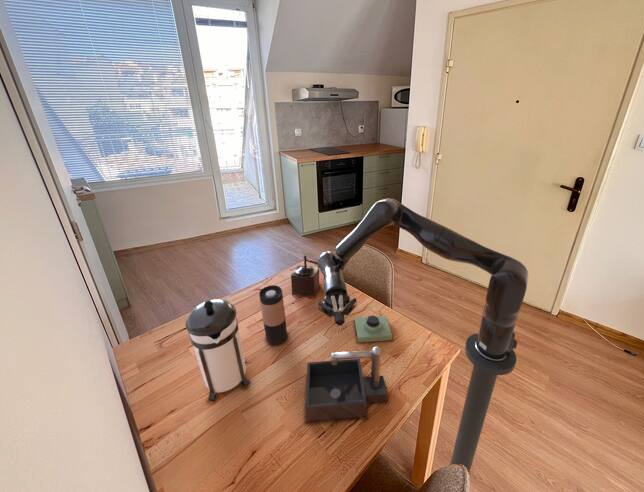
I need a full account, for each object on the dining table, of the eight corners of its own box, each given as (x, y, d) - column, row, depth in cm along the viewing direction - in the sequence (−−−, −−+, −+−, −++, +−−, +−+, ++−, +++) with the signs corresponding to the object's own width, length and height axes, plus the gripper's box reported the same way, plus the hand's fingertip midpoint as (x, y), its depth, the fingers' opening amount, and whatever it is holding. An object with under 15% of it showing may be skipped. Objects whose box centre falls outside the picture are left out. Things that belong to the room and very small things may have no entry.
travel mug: (264, 332, 108) (257, 288, 100) (285, 327, 110) (280, 283, 102) (267, 348, 101) (260, 301, 93) (289, 341, 104) (284, 296, 95)
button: (377, 318, 108) (377, 315, 108) (379, 326, 105) (379, 323, 104) (366, 319, 108) (366, 315, 107) (368, 327, 105) (368, 323, 104)
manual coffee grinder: (290, 296, 125) (288, 257, 120) (298, 283, 135) (296, 247, 130) (326, 298, 123) (325, 259, 118) (331, 285, 133) (330, 249, 128)
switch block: (385, 320, 113) (386, 311, 111) (391, 340, 104) (392, 331, 102) (355, 322, 112) (355, 313, 110) (358, 342, 103) (358, 333, 101)
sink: (380, 370, 92) (380, 356, 90) (389, 415, 80) (391, 400, 77) (308, 376, 91) (307, 362, 88) (306, 422, 78) (305, 407, 76)
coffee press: (263, 364, 95) (250, 288, 83) (230, 410, 81) (209, 327, 69) (220, 350, 101) (202, 277, 88) (182, 390, 87) (155, 311, 75)
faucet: (378, 380, 86) (380, 344, 80) (380, 388, 83) (382, 351, 78) (331, 383, 85) (330, 347, 79) (331, 391, 83) (330, 354, 77)
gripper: (315, 280, 99) (316, 315, 83) (353, 277, 100) (362, 311, 84) (316, 298, 102) (318, 335, 86) (354, 294, 103) (362, 331, 87)
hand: (340, 323), depth 85 cm, fingers closed
